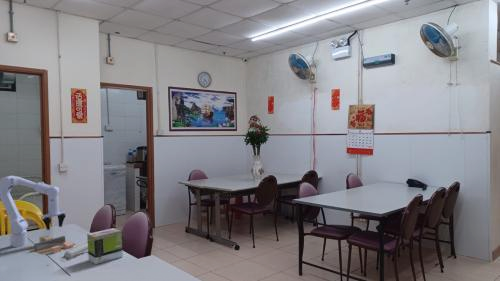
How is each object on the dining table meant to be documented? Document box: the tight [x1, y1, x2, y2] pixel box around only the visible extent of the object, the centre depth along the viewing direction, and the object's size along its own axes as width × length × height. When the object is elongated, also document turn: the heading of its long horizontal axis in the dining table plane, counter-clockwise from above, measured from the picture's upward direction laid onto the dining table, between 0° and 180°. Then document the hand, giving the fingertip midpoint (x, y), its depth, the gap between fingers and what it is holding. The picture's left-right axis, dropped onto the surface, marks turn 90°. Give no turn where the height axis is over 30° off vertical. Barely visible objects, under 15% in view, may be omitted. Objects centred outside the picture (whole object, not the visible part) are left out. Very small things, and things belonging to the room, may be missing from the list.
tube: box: [63, 241, 88, 260], centre depth 203 cm, size 5×5×25 cm
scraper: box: [34, 235, 66, 251], centre depth 212 cm, size 9×17×5 cm, turn 150°
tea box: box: [86, 227, 124, 265], centre depth 192 cm, size 15×10×15 cm, turn 134°
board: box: [25, 243, 77, 255], centre depth 209 cm, size 18×20×2 cm
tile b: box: [63, 240, 75, 250], centre depth 208 cm, size 4×4×3 cm
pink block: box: [50, 246, 62, 254], centre depth 200 cm, size 4×4×3 cm
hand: (54, 228), depth 218 cm, fingers open, 7 cm apart
